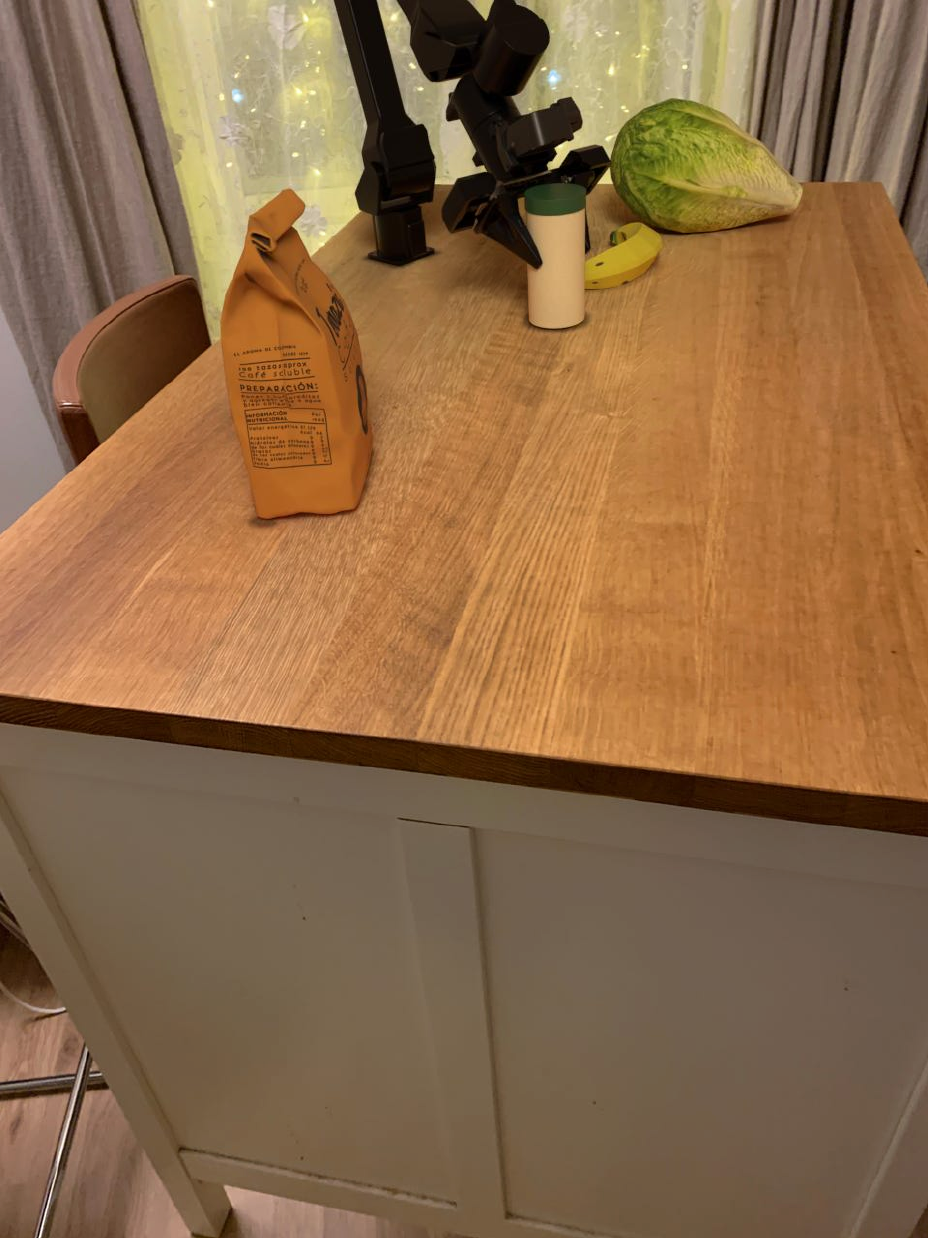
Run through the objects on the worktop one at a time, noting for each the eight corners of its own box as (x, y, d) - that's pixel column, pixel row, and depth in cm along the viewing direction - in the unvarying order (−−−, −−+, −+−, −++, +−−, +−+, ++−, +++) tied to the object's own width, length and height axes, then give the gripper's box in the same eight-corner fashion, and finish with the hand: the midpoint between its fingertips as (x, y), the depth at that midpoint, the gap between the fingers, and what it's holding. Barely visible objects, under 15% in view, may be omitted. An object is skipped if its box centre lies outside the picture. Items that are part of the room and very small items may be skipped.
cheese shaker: (520, 327, 104) (516, 199, 96) (537, 306, 109) (533, 182, 101) (577, 330, 102) (577, 200, 94) (591, 309, 107) (592, 183, 99)
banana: (656, 207, 122) (537, 232, 125) (665, 240, 108) (531, 268, 111) (660, 244, 124) (544, 268, 127) (670, 282, 110) (538, 307, 113)
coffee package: (393, 449, 84) (358, 178, 71) (363, 526, 75) (314, 229, 61) (283, 450, 86) (228, 185, 73) (239, 525, 76) (165, 235, 63)
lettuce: (774, 235, 135) (776, 284, 124) (602, 182, 135) (588, 226, 124) (824, 123, 125) (832, 166, 113) (638, 66, 125) (627, 103, 113)
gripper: (447, 86, 90) (523, 234, 89) (601, 56, 98) (672, 191, 97) (411, 164, 100) (479, 297, 100) (553, 131, 108) (617, 254, 107)
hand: (563, 259), depth 101 cm, fingers closed on cheese shaker, 6 cm apart
